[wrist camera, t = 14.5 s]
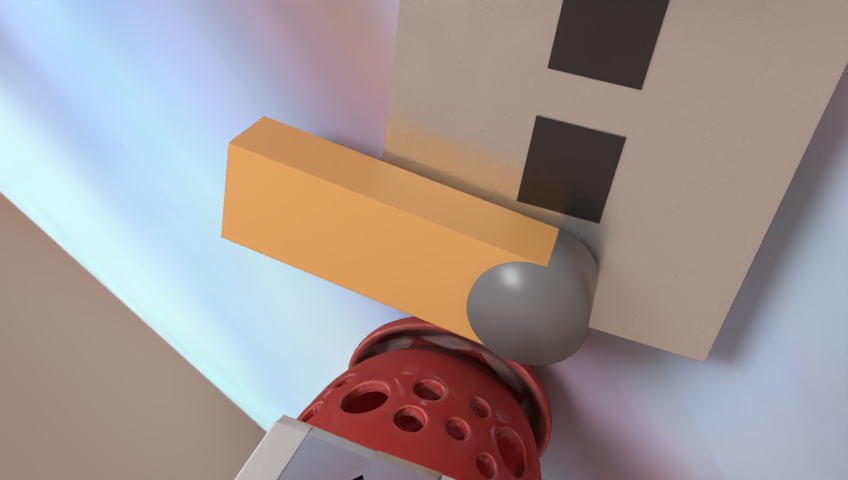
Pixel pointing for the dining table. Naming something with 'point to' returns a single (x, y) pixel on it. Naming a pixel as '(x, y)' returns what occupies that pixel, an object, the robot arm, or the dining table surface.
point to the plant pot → (438, 404)
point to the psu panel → (623, 133)
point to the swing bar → (409, 243)
